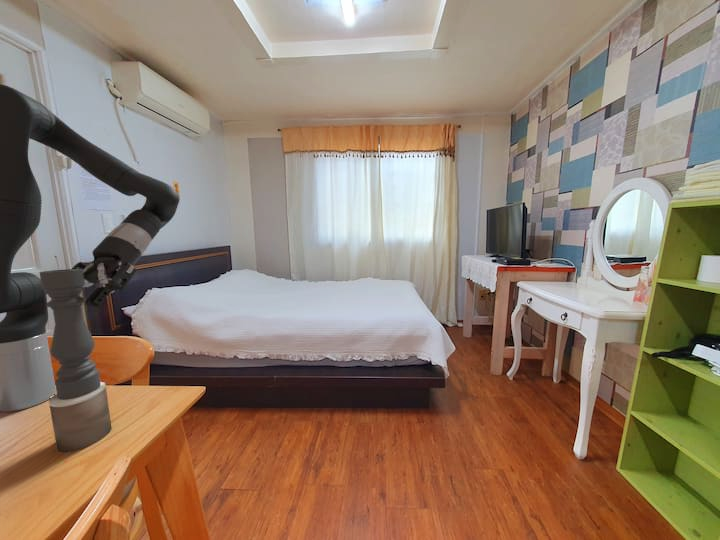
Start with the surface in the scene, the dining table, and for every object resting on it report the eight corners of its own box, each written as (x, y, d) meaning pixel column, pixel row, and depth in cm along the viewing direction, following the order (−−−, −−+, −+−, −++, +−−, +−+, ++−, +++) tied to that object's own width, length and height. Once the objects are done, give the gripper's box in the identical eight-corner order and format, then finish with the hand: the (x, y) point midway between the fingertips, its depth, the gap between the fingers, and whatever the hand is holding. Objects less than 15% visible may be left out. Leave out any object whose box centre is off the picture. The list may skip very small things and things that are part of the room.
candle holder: (108, 385, 57) (92, 269, 55) (70, 401, 52) (50, 272, 49) (88, 381, 59) (72, 268, 56) (49, 397, 53) (29, 272, 50)
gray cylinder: (62, 435, 57) (54, 391, 56) (113, 419, 62) (107, 377, 61) (52, 459, 51) (43, 409, 49) (109, 438, 56) (103, 393, 54)
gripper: (85, 235, 62) (25, 294, 52) (137, 234, 60) (84, 296, 50) (112, 257, 68) (63, 313, 58) (161, 256, 66) (118, 315, 56)
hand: (73, 305), depth 54 cm, fingers open, 8 cm apart
